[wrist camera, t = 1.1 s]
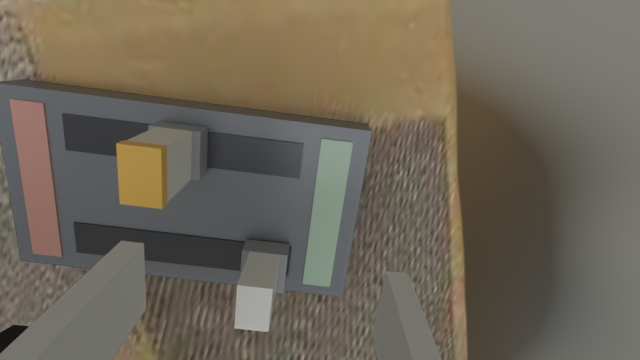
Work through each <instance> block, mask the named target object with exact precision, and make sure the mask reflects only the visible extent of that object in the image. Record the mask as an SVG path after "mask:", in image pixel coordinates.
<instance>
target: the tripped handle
mask: <svg viewBox="0 0 640 360" xmlns="http://www.w3.org/2000/svg"><path fill="white" fill-rule="evenodd" d="M207 149H208V127H203V126H195V125H187V124H179V123H171V122H163V121H158V122H156V123H153V124H151V125H148V131H146V132H144V133H142V134H139V135H137V136H135V137H133V138H130V139H128V140H123V141H121V142H118V143H116V150H117V167H118V184H119V201H120V204H123V205H132V206H140V207H149V208H157V209H163V208H164V207H165V206H166V205H167V204H168V201H169V200H170V199H171V198H173V197H174V196H175V195H176V194H177V193H178V192H179V191H180V190H181V189H182V188H183V187H184V186H185V185H186V184H187V183H188V182H189V181H190V180H191V179H192V180H200V179H201V178H202V177H203V176H204V175H205V174H206V173H207Z"/></svg>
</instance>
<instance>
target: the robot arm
mask: <svg viewBox="0 0 640 360" xmlns="http://www.w3.org/2000/svg"><path fill="white" fill-rule="evenodd" d="M145 310H146V287H145V259H144V243H138V242H129V241H120V242H119V243H118V244H117V245H116V246H115V247H114V248H113V249H112V250H111V251H110V252H109V253H107V254H106V255H105V256H104V257H103V258H102V259H101V260H100V261H99V262H98V263H97V264H96V265H95V266H94V267H92V268H91V269H90V270H89V271H88V272H87V273H86V274H85V275H84V276H83V277H82V278H81V279H80V280H79V281H77V282H76V283H75V284H74V285H73V286H72V287H71V288H70V289H69V290H68V291H67V292H66V293H65V294H64V295H62V296H61V297H60V298H59V299H58V300H57V301H56V302H55V303H54V304H53V305H52V306H51V307H50V308H49V309H47V310H46V311H45V312H44V313H43V314H42V315H41V316H40V317H39V318H38V319H37V320H36V321H35V322H34V323H32V324H31V325H30V326H29V327H28V326H18V325H13V326H11V327H10V328H8V329H6V330H4V331H2V332H0V360H112V358H113V357H114V356H115V354H116V353H117V351H118V350H119V348H120V347H121V345H122V344H123V342H124V341H125V339H126V338H127V337H128V335H129V334H130V332H131V331H132V329H133V328H134V326H135V325H136V323H137V322H138V321H139V319H140V318H141V316H142V315H143V313H144V312H145ZM373 338H374V343H375V349H376V355H377V360H442V359H441V357H440V354H439V352H438V349H437V347H436V344H435V341H434V339H433V336H432V334H431V331H430V329H429V326H428V323H427V321H426V318H425V316H424V313H423V311H422V308H421V306H420V303H419V300H418V298H417V295H416V293H415V290H414V288H413V285H412V283H411V280H410V277H409V275H408V273H399V272H390V271H386V276H385V280H384V285H383V289H382V294H381V298H380V303H379V308H378V312H377V317H376V321H375V326H374V330H373Z"/></svg>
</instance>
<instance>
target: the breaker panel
mask: <svg viewBox="0 0 640 360" xmlns="http://www.w3.org/2000/svg"><path fill="white" fill-rule="evenodd" d="M158 121H163V122H171V123H179V124H187V125H195V126H203V127H208V149H207V173H206V174H205V175H204V176H203V177H202V178H201V179H200V180H192V179H191V180H190V181H189V182H188V183H187V184H186V185H185V186H184V187H183V188H182V189H181V190H180V191H179V192H178V193H177V194H176V195H175V196H174V197H173V198H171V199H170V200H169V201H168V204H167V205H166V206H165V207H164V208H163V209H157V208H149V207H140V206H132V205H123V204H120V201H119V184H118V167H117V150H116V143H118V142H121V141H123V140H128V139H130V138H133V137H135V136H137V135H139V134H142V133H144V132H146V131H148V125H151V124H153V123H156V122H158ZM371 135H372V130H371V129H370V127H369V126H368V124H364V123H356V122H348V121H340V120H333V119H325V118H317V117H309V116H302V115H294V114H286V113H278V112H271V111H263V110H255V109H247V108H240V107H232V106H224V105H216V104H209V103H201V102H193V101H185V100H178V99H170V98H162V97H154V96H147V95H139V94H131V93H123V92H116V91H108V90H100V89H93V88H85V87H77V86H69V85H62V84H54V83H46V82H38V81H31V80H13V81H1V82H0V139H1V145H2V151H3V157H4V163H5V169H6V175H7V181H8V187H9V193H10V199H11V205H12V211H13V217H14V223H15V229H16V235H17V241H18V247H19V253H20V259H21V261H26V262H35V263H44V264H53V265H62V266H71V267H80V268H89V269H91V268H92V267H94V266H95V265H96V264H97V263H98V262H99V261H100V260H101V259H102V258H103V257H104V256H105V255H106V254H107V253H109V252H110V251H111V250H112V249H113V248H114V247H115V246H116V245H117V244H118V243H119V242H120V241H129V242H138V243H144V259H145V275H152V276H161V277H170V278H179V279H188V280H197V281H206V282H215V283H224V284H233V285H237V295H236V311H235V327H234V328H236V329H245V330H255V331H264V332H269V327H270V322H271V317H272V312H273V306H274V301H275V296H276V293H281V294H283V293H284V290H287V291H296V292H305V293H314V294H323V295H332V296H341V297H343V292H344V286H345V281H346V275H347V270H348V264H349V258H350V253H351V247H352V241H353V236H354V230H355V225H356V219H357V213H358V208H359V202H360V196H361V191H362V185H363V180H364V174H365V168H366V163H367V157H368V151H369V146H370V140H371Z"/></svg>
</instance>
